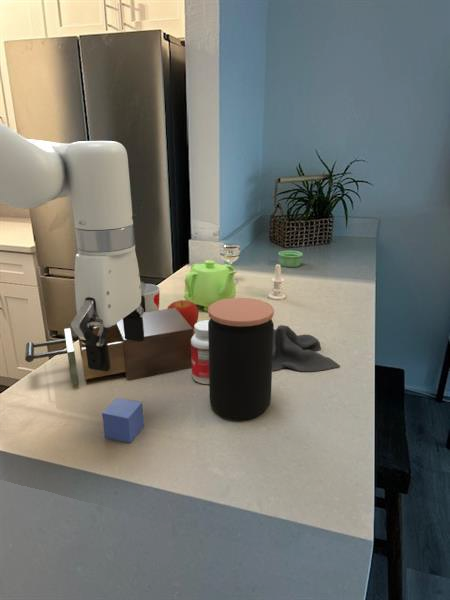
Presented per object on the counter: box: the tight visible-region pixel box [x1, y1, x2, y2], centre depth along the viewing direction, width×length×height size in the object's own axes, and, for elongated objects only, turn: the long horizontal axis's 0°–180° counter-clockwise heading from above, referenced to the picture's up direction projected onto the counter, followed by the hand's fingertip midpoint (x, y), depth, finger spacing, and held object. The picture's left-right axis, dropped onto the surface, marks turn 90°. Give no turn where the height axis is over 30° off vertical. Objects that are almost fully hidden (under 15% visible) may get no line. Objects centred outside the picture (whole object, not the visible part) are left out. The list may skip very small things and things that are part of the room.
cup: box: [142, 283, 161, 312], centre depth 106 cm, size 8×8×10 cm
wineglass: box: [219, 243, 242, 285], centre depth 140 cm, size 7×7×12 cm
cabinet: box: [116, 308, 194, 381], centre depth 89 cm, size 14×13×9 cm
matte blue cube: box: [101, 397, 145, 444], centre depth 67 cm, size 4×4×4 cm
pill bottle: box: [191, 319, 210, 385], centre depth 82 cm, size 6×6×11 cm
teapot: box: [183, 259, 238, 312], centre depth 120 cm, size 16×14×13 cm
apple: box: [167, 299, 200, 331], centre depth 104 cm, size 8×8×8 cm
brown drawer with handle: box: [24, 324, 126, 386], centre depth 84 cm, size 20×11×7 cm, turn 112°
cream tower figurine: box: [267, 262, 287, 301], centre depth 126 cm, size 5×5×10 cm
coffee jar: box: [207, 297, 275, 421], centre depth 72 cm, size 11×11×18 cm
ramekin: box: [278, 250, 304, 268], centre depth 161 cm, size 9×9×4 cm
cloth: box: [272, 324, 341, 373], centre depth 92 cm, size 22×19×6 cm
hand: (118, 353), depth 63 cm, fingers open, 9 cm apart
